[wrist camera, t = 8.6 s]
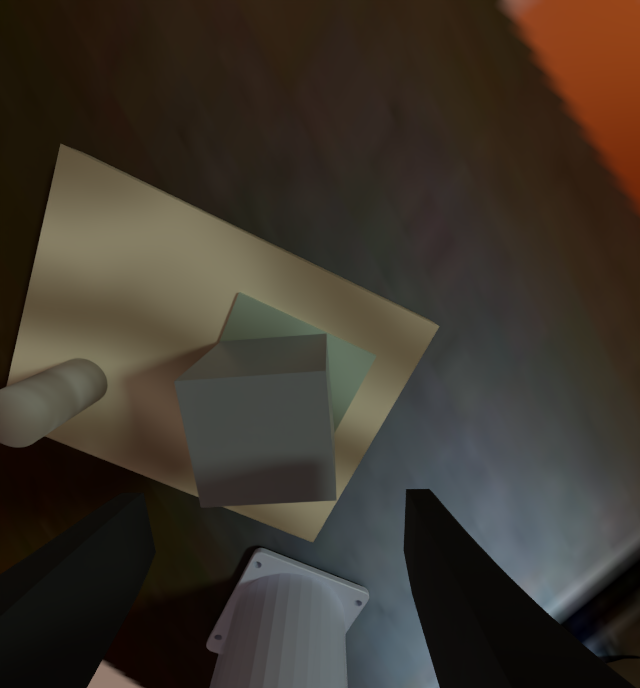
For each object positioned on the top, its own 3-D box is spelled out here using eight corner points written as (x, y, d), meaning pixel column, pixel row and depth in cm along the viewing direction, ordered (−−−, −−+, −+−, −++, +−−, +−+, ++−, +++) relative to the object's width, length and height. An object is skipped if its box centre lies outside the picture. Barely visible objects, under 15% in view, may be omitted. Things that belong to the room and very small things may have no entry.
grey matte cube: (334, 429, 17) (336, 500, 12) (236, 435, 17) (200, 507, 12) (326, 333, 16) (325, 370, 11) (220, 341, 16) (174, 381, 11)
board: (313, 521, 21) (309, 616, 15) (24, 405, 19) (-94, 465, 14) (429, 319, 17) (475, 351, 12) (85, 153, 15) (-43, 102, 10)
